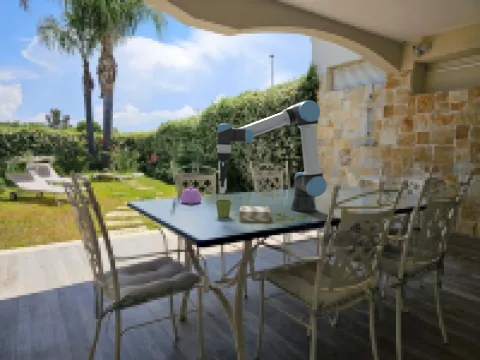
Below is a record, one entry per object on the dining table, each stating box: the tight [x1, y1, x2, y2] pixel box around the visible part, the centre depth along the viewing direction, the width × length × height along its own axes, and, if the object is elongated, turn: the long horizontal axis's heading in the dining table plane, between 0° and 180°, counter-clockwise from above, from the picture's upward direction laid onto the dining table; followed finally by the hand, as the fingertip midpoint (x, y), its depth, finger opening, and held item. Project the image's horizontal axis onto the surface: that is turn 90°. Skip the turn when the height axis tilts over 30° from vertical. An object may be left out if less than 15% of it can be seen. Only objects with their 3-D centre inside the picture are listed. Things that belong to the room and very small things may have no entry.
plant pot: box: [214, 199, 233, 218], centre depth 199 cm, size 9×9×9 cm
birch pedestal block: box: [238, 205, 271, 222], centre depth 196 cm, size 16×16×5 cm
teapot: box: [180, 186, 202, 205], centre depth 245 cm, size 14×20×11 cm
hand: (223, 191), depth 198 cm, fingers open, 13 cm apart
